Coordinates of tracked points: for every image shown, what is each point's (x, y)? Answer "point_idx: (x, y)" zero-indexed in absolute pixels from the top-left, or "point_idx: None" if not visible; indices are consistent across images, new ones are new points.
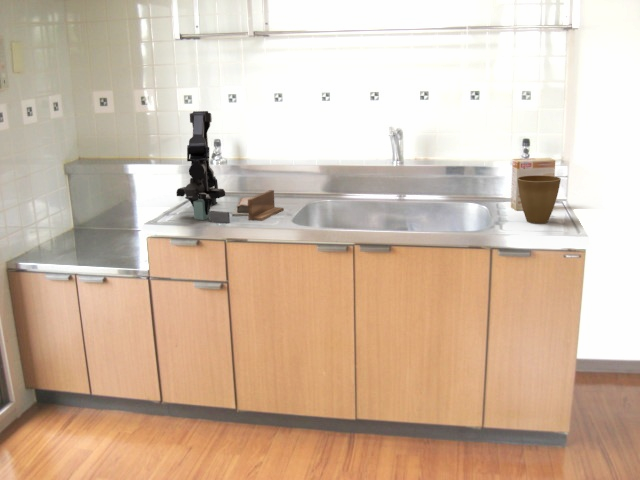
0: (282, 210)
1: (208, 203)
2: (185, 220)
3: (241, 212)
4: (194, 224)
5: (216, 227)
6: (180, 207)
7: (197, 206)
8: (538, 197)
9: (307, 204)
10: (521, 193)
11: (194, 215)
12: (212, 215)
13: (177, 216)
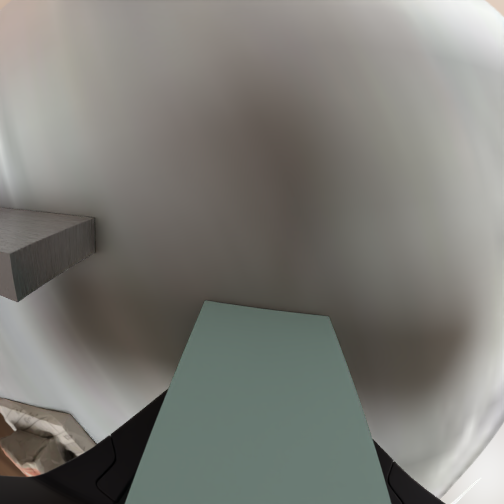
0: None
1: (60, 469)
2: (416, 256)
3: (40, 433)
4: (219, 58)
5: (3, 52)
6: (444, 489)
7: (284, 446)
8: None
9: None
10: None
11: (335, 341)
12: (15, 233)
13: (481, 374)
